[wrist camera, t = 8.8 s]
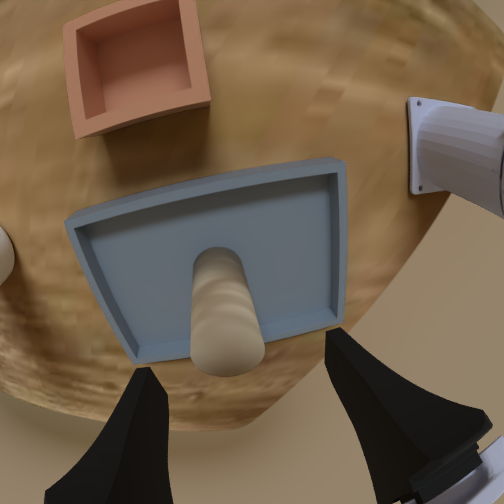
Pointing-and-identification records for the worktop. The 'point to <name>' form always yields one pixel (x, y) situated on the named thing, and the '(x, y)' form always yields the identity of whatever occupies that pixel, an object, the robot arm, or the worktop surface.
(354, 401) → the robot arm
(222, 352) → the ash peg
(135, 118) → the salmon open box
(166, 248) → the slate tray
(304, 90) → the worktop surface
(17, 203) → the worktop surface
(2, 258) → the drinking glass
